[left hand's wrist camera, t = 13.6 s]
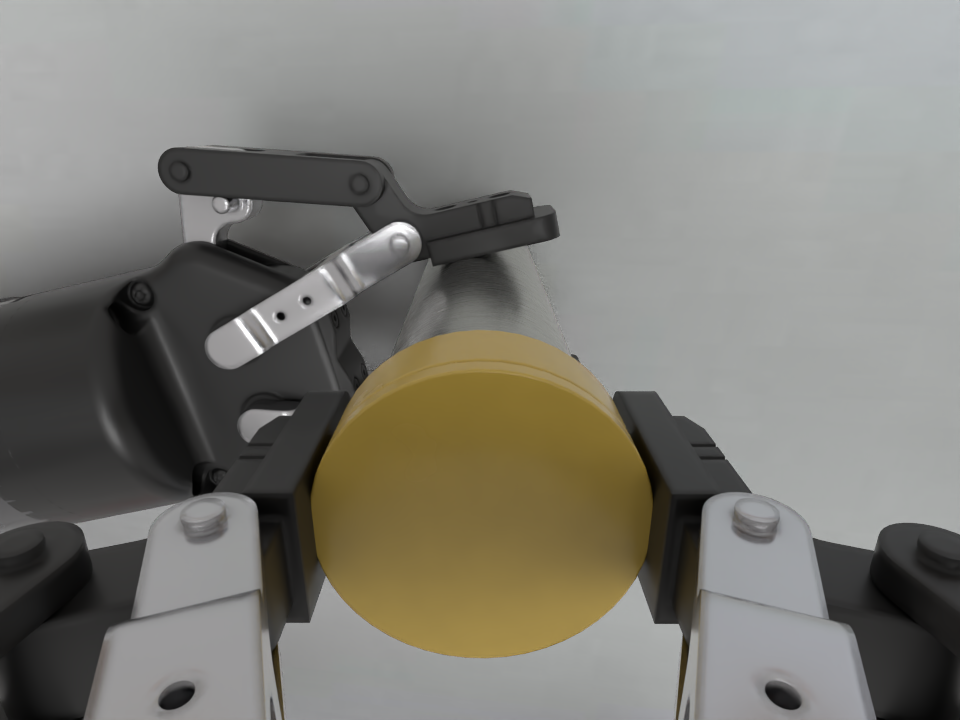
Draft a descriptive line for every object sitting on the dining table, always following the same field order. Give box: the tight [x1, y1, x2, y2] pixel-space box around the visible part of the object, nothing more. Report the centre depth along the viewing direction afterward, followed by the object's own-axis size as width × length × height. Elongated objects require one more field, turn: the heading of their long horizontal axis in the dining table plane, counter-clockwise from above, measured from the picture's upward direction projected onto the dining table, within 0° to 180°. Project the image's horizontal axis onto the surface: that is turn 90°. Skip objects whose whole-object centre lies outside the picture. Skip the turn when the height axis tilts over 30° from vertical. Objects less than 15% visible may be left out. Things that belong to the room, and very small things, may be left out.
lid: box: [311, 330, 653, 658], centre depth 10 cm, size 5×5×2 cm
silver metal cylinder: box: [390, 246, 571, 358], centre depth 17 cm, size 4×4×16 cm
